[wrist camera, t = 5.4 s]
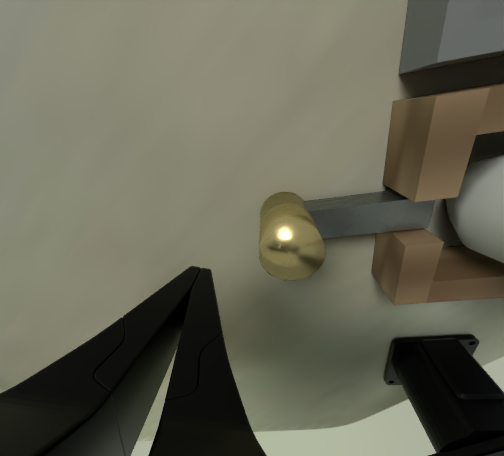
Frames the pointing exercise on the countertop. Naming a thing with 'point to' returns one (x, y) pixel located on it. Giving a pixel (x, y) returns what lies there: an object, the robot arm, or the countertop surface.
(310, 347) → the countertop surface
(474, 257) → the socket block
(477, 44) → the tray
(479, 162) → the salt shaker
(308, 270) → the key
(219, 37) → the countertop surface
